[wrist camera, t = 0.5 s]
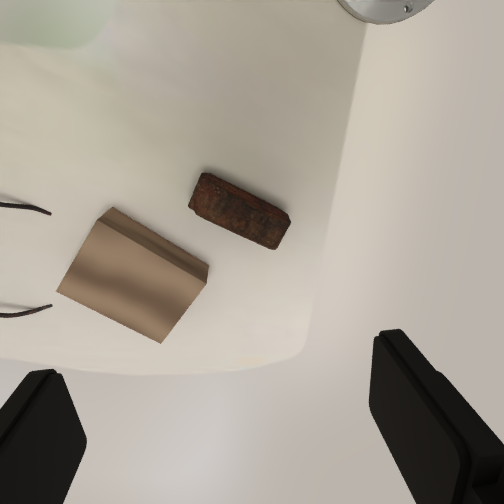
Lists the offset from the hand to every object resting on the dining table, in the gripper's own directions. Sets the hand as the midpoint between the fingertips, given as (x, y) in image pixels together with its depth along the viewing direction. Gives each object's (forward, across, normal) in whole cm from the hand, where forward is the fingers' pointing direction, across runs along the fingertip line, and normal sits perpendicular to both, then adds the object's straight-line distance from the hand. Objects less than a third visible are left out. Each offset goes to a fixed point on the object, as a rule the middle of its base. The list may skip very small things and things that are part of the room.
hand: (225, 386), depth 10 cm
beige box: (+30, +11, +9) cm, 33 cm away
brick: (+30, -2, +2) cm, 30 cm away
